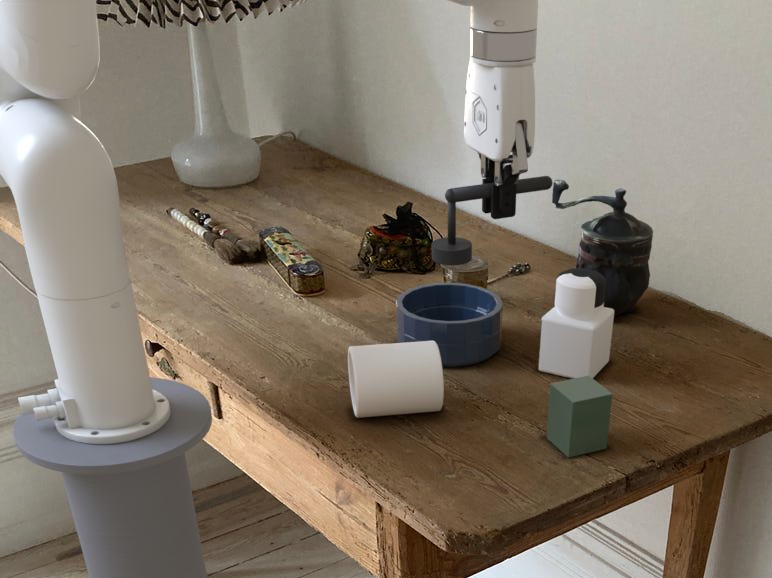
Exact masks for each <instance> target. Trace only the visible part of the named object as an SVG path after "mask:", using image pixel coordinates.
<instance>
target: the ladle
mask: <svg viewBox="0 0 772 578" xmlns="http://www.w3.org/2000/svg"><path fill="white" fill-rule="evenodd" d="M553 183H554V181H553V178H551V177H550V176H549V175H542V176H533V177H527V178H519V182H518V184H517V188H516V195H518V194H526V193H533V192H541V191H548V190H550V189H551V188H552V187H553ZM491 184H495V183H488V184H482V183H480V184H474V185H473V184H472V185H467V186H458V187H451V188H448V189H447V190H446V191H445V193H444V199H445V200H446V201H447V236H445V237H439V238H437V239H434V240H433V241H432V242H431V260H432V262H434V263H436V264H438V265H443V266H461V265H466V264H468V263H470V262H471V261H472V259H473V243H472V242H471V240H469V239H467V238H463V237H457V203H460V202H469V201H475V200H482V199H483V198H491Z"/></svg>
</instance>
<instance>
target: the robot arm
mask: <svg viewBox="0 0 772 578" xmlns="http://www.w3.org/2000/svg"><path fill="white" fill-rule="evenodd" d="M447 1H448V2H452V3H455V4H458V5H460V6H466V7H469V60H468V67H467V74H466V84H465V96H464V115H463V141H464V143H465V144H466V145H467V146H468V147H469V148H470V149H472V150H473V151H475V152H476V153H477V154H478V157H479V160H480V175H481V178H482V181H481V184H488V183H495V184H491V198H483V199H481V212H482V213H483V214H487V215H488V214H490V217H491V219H493V220H500V219H507V218H513V217H515V215H516V214H517V212H516V211H517V194H516V188H517V184H518V182H519V179H520V175H522V174H526V173H528V171H529V165H528V159H530V157H532V156H533V153H534V152H533V151H534V149H535V148H534V147H535V138H536V137H535V135H536V85H535V83H536V82H535V70H534V69H535V68H534V64H535V63H536V59H537V39H538V38H537V37H538V15H539V14H538V13H539V0H447ZM97 10H98V9H97V0H0V176H1V177H2V179H3V180H4V181H5V184H6V185H7V186H8V188H9V189H10V191H11V193H12V196H13V199H14V203H15V207H16V210H17V214H18V219H19V223H20V224H19V225H20V228H21V234H22V240H23V246H24V250H25V254H26V258H27V259H26V260H27V262H28V267H29V271H30V275H31V278H32V283H33V287H34V289H35V293H36V296H37V300H38V301H37V302H38V304H39V309H40V312H41V316H42V321H43V324H44V328H45V332H46V336H47V340H48V344H49V347H50V352H51V355H52V359H53V362H54V368H55V370H56V374H57V379H56V378H55V379H54V385H55V388H51V389H47V390H46V391H47V393H42V394H37V395H35V394H32V395H31V394H30V395H26V396H20V397H17V400H18V403H19V407H20V410H21V413H22V414H23V415H27V414H32V413H35V416H36V419H37V421H38V420H43V419H49V418H51V417H53V418H54V422H55V427H56V429H57V431H58V432H59V433H60V434H61V435H62V436H64V437H66V438H68V439H70V440H73V441H76V442H81V443H86V444H116V443H123V442H128V441H132V440H136V439H139V438H142V437H144V436H147V435H149V434H151V433H153V432H155V431H157V430H158V429H160V428H161V427H162V426H163V425H164V424H165V423H166V422H167V421H168V420H169V417H170V415H171V410H170V405H169V401H168V400H167V398H166V397H165V396H164V395H162V394H161V393H159V392H157V391H155V390H152V386H151V381H150V377H151V375H150V371H149V365H148V361H147V356H146V350H145V347H144V346H145V345H144V340H143V334H142V330H141V325H140V324H141V323H140V319H139V315H138V314H139V313H138V309H137V305H136V304H137V303H136V299H135V294H134V288H133V284H132V279H131V274H130V269H129V265H128V259H127V254H126V248H125V244H124V243H125V241H124V235H123V227H122V220H121V219H122V218H121V205H120V203H121V202H120V193H119V187H118V181H117V180H118V179H117V175H116V172H115V169H114V166H113V163H112V160H111V158H110V156H109V154H108V152H107V150H106V148H105V147H104V145H103V144H102V143H101V141H100V140H99V138H98V137H97V136H96V135H95V134H94V132H93V131H91V129H89V128H88V127H87V126H86V125H85V123H83V122H82V117H81V100H80V99H81V98H80V97H81V96H80V95H81V94H83V93H84V92H85V91H87V90H88V89H89V87H90V86H91V85H92V84H93V82H94V80H95V78H96V76H97V74H98V71H99V70H98V69H99V66H100V60H101V59H100V58H101V55H100V54H101V50H100V49H101V48H100V34H99V23H98V11H97Z"/></svg>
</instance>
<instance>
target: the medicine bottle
mask: <svg viewBox="0 0 772 578" xmlns="http://www.w3.org/2000/svg"><path fill="white" fill-rule="evenodd" d="M605 288H606V279H605V278H604V276H603V275H602V274H600V273H598V272H596V271H594V270H591V269H586V268H574V267H573V268H568V269H566V270H563V271H561V272H560V273H559V274H558V275H557V276H556V280H555V291H554V293H555V294H554V306H553V307H552V308H551V309H550V310H549V311H547V312H546V313H545V314H544V315H543V316H541V320H540V333H539V334H540V335H539V349H538V366H537V369H538V371H539V372H541V373H546V374H551V375H555V376H560V377H564V378H569V379H574V378H579V377H584V376H590V377H591V378H593V379H594V378H595V377H596V376H597V374H599V372H600V371H601V370H602V369H603V368H604V367H605V366H606V365H607V364H608V363H609V361H610V354H611V345H612V337H613V327H614V319H615V318H614V310H613V309H611V308H606V307H604V297H605Z"/></svg>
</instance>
